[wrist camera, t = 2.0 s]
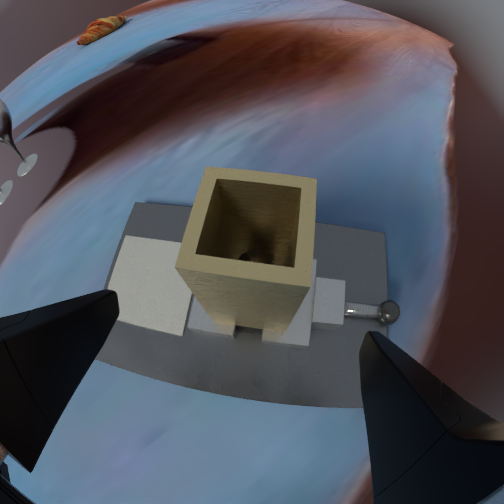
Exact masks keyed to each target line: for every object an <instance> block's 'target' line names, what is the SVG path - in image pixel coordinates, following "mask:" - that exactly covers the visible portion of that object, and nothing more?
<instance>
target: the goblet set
mask: <svg viewBox="0 0 504 504" xmlns="http://www.w3.org/2000/svg"><path fill="white" fill-rule="evenodd" d="M0 142H2V143H5V144H7V145H9V146H10V147H11V148H12V149H13V150H14V151H15V152H16V153H17V154H18V156H19V157H20V158H21V159H22V161H23V162H22V163H21V164H20V166H19V168H18V170H17V175H18V176H19V177H21V176H24V175H25V174H27V173H28V172H29V171H30V170H31V169H32V168H33V167H34V165H35V163H36V162H37V159H38V155H37V154H31V155H30V156H28V157H27V158H26V159H24V158H23V157H22V155H21V154H20V152H19V151H18V149H17V148H16V146H15V144H14V142H13V138H12V118H11V114H10V112H9V109H8V108H7V106H6V105H5V103H4V102H3V101H2V100H1V99H0ZM12 188H13V181H12V180H9V181H6V182H5V183H4V184H3V185H2V186H1V187H0V205H1V204H2V203H3V202H4V201H5V200H6V199H7V197H8V196H9V194H10V192H11V190H12Z"/></svg>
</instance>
